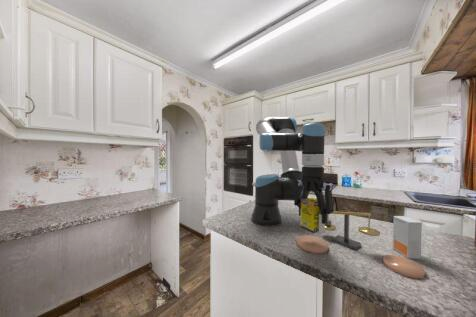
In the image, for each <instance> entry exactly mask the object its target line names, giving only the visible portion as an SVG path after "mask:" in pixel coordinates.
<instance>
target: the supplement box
mask: <svg viewBox="0 0 476 317" xmlns="http://www.w3.org/2000/svg"><path fill="white" fill-rule="evenodd" d="M320 213H321V211H320V207H319V204H318V201H317V198H315V197H308V198H305V199H301V216H300V218H301V226H300V228H302V229H304V230H306V231H308V232H310V233H312V234H315V233H319V214H320Z"/></svg>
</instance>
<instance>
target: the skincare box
mask: <svg viewBox="0 0 476 317" xmlns="http://www.w3.org/2000/svg"><path fill="white" fill-rule="evenodd" d="M392 222H393V223H392V224H393V227H392V228H393V229H392V249H393V250H395V251H396V252H397V253H399V254H401V255H402V256H404V258H407V259H413V260H414V259H418V260H421V258H422V230H423V229H422V228H423V226H422V225H423V223H422V222H421V221H419V220H416V219H413V218H411V217H408V216H405V215H393V221H392Z"/></svg>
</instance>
